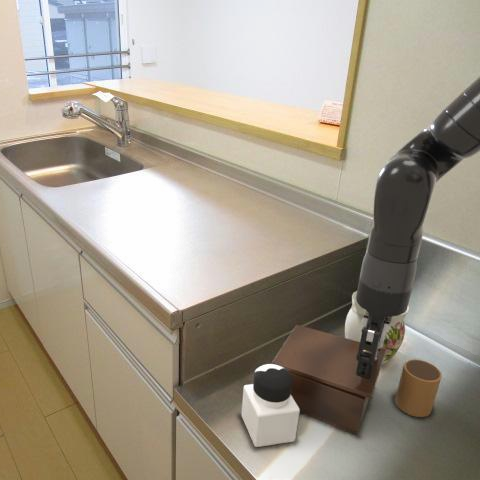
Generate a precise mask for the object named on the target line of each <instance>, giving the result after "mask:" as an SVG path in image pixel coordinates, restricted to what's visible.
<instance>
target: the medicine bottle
mask: <svg viewBox="0 0 480 480" xmlns="http://www.w3.org/2000/svg"><path fill="white" fill-rule="evenodd" d="M292 381H293V380H292V376H291V374H290V373H289V372H288V371H287V370H286V369H285V368H283V367H281V366H278V365H274V364H272V363H267V364H262V365H261V366H259V367H257V368H256V369H255V370H254V373H253V383H251V384H245V385H244V386H243V389H242V390H243V391H242V404H241V418H242V421H243V423H244V425H245V427H246V430H247V432H248V434H249V437H250V439H251V441H252V443H253V446H254V447H255V448H261V447H267V446H273V445H280V444H286V443H292V442H296V440H297V439H296V438H297V432H298V427H299V426H298V425H299V420H300V414H301V412H300V409H299V407H298V406H297V404H296V402H295V401H294V399H293V397H292V396H291V388H292Z"/></svg>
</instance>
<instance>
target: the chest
mask: <svg viewBox="0 0 480 480" xmlns="http://www.w3.org/2000/svg"><path fill="white" fill-rule="evenodd" d="M288 372H289V373H290V374H291V376H292V380H293V381H292V388H291V396H292V397H293V399H294V401H295V402H296V404H297V406H298V407H299V409H300V414H303V415H306V416H308V417H311V418H313V419H314V420H317V421H320V422H323V423H326V424H327V425H330V426H332V427H335V428H337V429H340V430H342V431H344V432H347V433H350V434H352V435H354V436H358V434H359V431H360V428H361V425H362V421H363V418H364V415H365V412H366V408H367V405H368V402H369V400H370V398H367V397H364V396H361V395H358V394H355V393H352V392H349V391H346V390H343V389H340V388H337V387H334V386H331V385H328V384H325V383H322V382H319V381H316V380H313V379H310V378H308V377H305V376H302V375H299V374H296V373H293V372H290V371H288Z"/></svg>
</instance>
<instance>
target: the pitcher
mask: <svg viewBox="0 0 480 480" xmlns="http://www.w3.org/2000/svg"><path fill="white" fill-rule="evenodd" d="M356 295H357V290H356V291H354V292H353V293H352V294H351V301H352V302H351V304H352V305H351V307H350V309H349V311H348V312H347V315H346V317H345V323H344V338H347V339H350V340H354V341H358V342H360V341H359V338H360V334H361V331H362V327H363V324H362V320H363V317H364V315H366V310H365V309H363V308H362V307H361V306H360V305H359V304H358V303H357V301H356ZM409 310H410V306H409V304H408V307H407V310H406V311H405V312H404V313H403V314H401V315H398V316H393V317H392V321H391V323H390V326H389V330H388V332H386V335H385V338H384V342H383V346H382V348H383V349H386V353H385V356H384V359H383V362H382V365H384V364H386V363H387V362H389V361H390V360H392V359H393V358H394V357H395V355H396V354H397V353H398V351H399V350H400V348H401V346H402V344H403V341H404V339H405V335H406V321H405V318H406V316H407V314H408V313H409Z"/></svg>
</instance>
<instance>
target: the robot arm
mask: <svg viewBox="0 0 480 480" xmlns="http://www.w3.org/2000/svg"><path fill="white" fill-rule="evenodd" d="M479 152H480V76H478V77H476V79H474V81H473V82H472V83H470V85H468V86H467V87H466V88H465V89H464V90H463V91H462V92H460V94H458V96H456V97H455V98H454V99H453V100H452V101H451V102H450V103H449V104H448V105H447V106H445V108H444V109H443V110H442V111H441V112H440V113H439V114H438V115H437V116H436V117H435V118H434V119H433V120H432V121H431V122H430V124H429V125H428V126H427V127H426V128H424V129H423V130H421V131H420V132H419V133H418V134H417V135H415V136H414V137H413V138H412V139H410V140H409V141H408V142H406V143H405V144H404V145H403V146H402V147H401V148H400V149H398V150H397V152H395V153H394V154H393V155H392V156H391V157H390V158H389V159H388V160H387V162H386V163H385V164H384V165H383V167H382V168H381V170H380V172H379V174H378V176H377V179H376V184H375V189H374V198H373V211H372V212H373V215H372V216H373V217H372V218H373V219H372V223H371V226H370V230H369V236H368V241H367V247H366V251H365V254H364V256H363V260H362V263H361V268H360V273H359V278H358V284H357V290H356V291H357V295H356V301H357V303H358V304H359V305H360V306H361V307H362V308H363V309H365V310H366V315H364V317H363V320H362V324H363V327H362V331H361V334H360V338H359V341H360V345H359V349H358V354H357V355H356V358H357V359H356V360H357V361H358V366H357V371H356V374H357V375H358V376H360V377H363V378H365V379H370V378H371V374H372V370H373V365H374V364H375V361H376V359H377V358H376V355H377V351H379V350H380V348H382V346H383V342H384V338H385V335H386V332H388V330H389V326H390V323H391V321H392V317H393V316H398V315H401V314H403V313H404V312H405V311H406V310H407V307H408V305H409V303H410V299H411V294H412V291H413V286H414V283H415V280H416V279H415V278H416V273H417V264H418V263H417V262H418V258H419V254H420V251H421V250H420V249H421V245H422V242H423V241H422V240H423V235H424V223H425V219H426V216H427V213H428V209H429V205H430V202H431V198H432V196H433V192H434V189H435V186H436V184H437V183H438V182H439V181H440V180H441V179H442V178H443V177H444V176H446V174H448V173H449V172H450V171H451V170H452V169H454V168H455V167H456V166H457V165H458V164H460V163H461V162H462V161H463V160H465V159H469V158H471V157H474V156H475V155H477V154H479ZM364 350H366V351H369V352H371V353H372V354H371V353H368V352H365V351H364Z"/></svg>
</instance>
